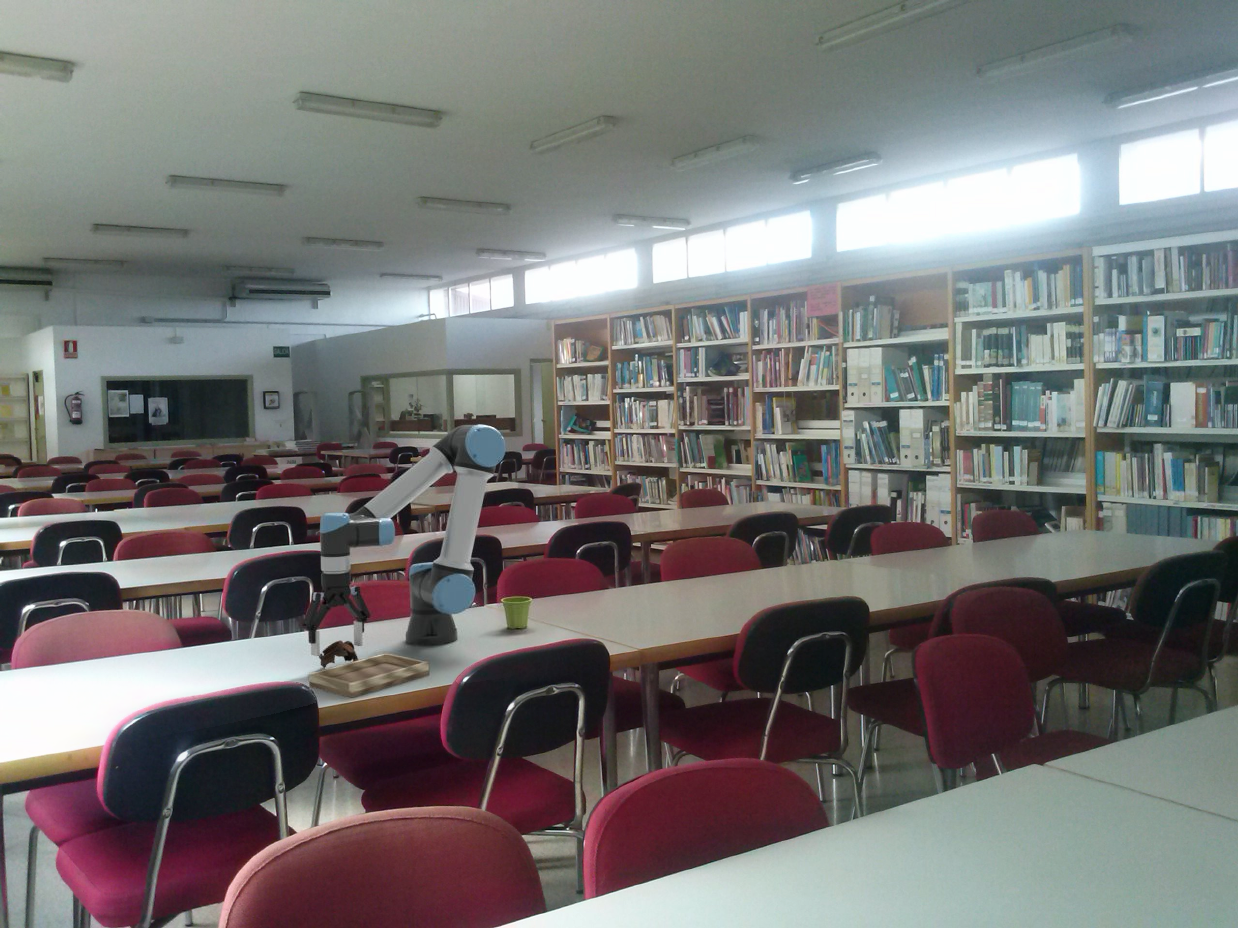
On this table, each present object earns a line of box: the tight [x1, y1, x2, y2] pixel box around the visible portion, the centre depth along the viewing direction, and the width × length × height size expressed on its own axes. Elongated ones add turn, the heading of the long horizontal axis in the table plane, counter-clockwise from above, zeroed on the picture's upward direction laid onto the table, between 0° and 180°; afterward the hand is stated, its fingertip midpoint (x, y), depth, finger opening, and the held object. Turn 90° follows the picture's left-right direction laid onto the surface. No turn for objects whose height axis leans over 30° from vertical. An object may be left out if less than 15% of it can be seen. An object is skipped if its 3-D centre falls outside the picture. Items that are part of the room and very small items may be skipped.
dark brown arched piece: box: [318, 640, 360, 669], centre depth 263 cm, size 12×10×8 cm
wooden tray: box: [308, 652, 430, 698], centre depth 249 cm, size 24×17×3 cm
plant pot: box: [500, 596, 533, 630], centre depth 305 cm, size 9×9×9 cm
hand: (337, 650), depth 262 cm, fingers open, 13 cm apart
